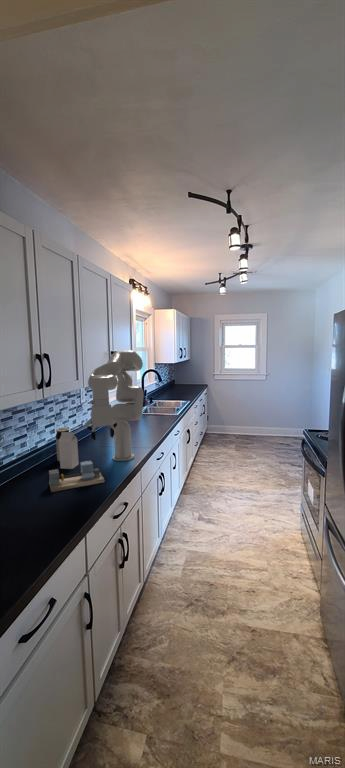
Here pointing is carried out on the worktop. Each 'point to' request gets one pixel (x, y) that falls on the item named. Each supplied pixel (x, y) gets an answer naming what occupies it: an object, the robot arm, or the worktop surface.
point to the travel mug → (59, 438)
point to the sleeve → (87, 470)
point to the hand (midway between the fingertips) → (103, 438)
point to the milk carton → (68, 450)
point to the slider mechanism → (72, 480)
